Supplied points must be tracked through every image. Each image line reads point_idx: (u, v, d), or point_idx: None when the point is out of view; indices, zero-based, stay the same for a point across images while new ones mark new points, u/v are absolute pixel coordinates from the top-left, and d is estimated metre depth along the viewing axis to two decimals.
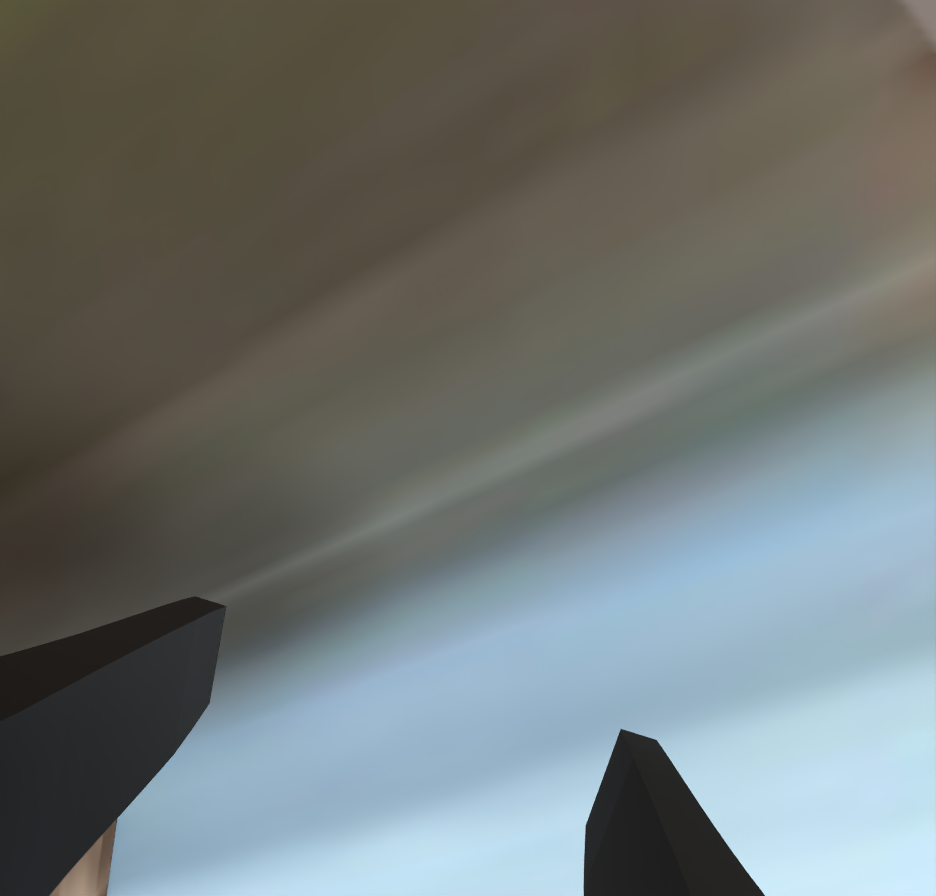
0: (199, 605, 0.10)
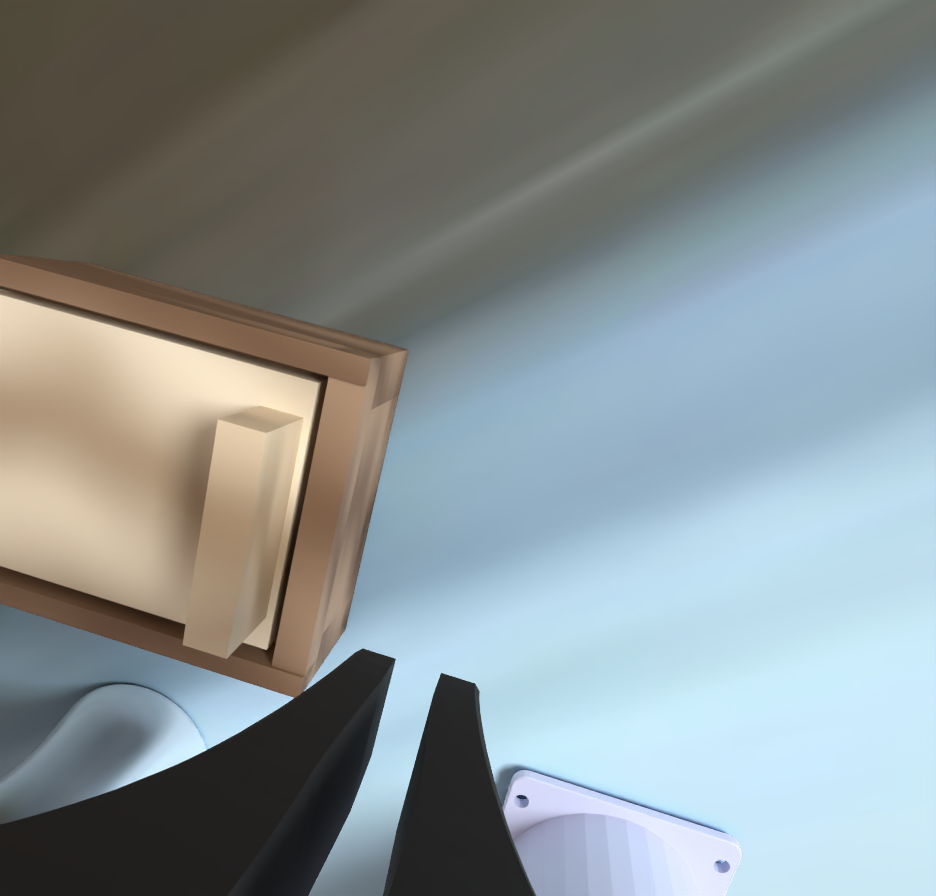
0: (375, 660, 0.10)
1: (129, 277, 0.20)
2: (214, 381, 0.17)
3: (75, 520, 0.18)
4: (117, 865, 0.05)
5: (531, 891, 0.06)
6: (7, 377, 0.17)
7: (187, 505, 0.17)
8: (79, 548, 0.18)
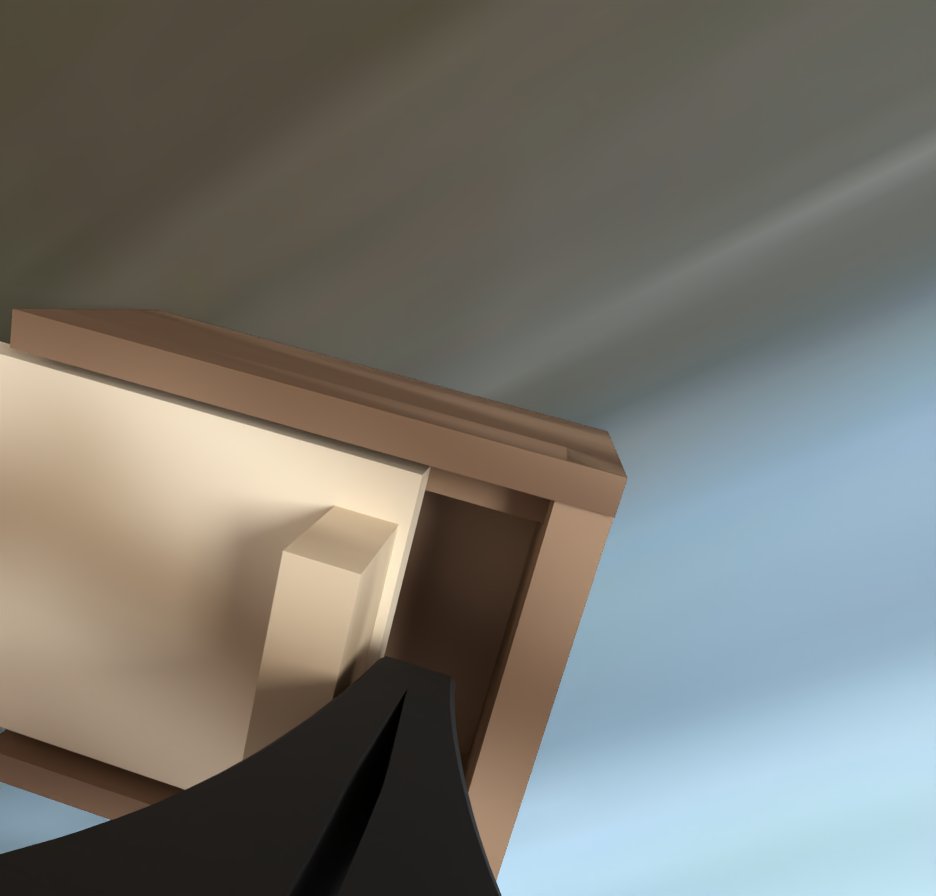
0: (398, 667, 0.10)
1: (220, 332, 0.14)
2: (265, 469, 0.11)
3: (62, 656, 0.13)
4: (167, 881, 0.05)
5: (491, 877, 0.06)
6: None
7: (222, 641, 0.12)
8: (68, 693, 0.13)
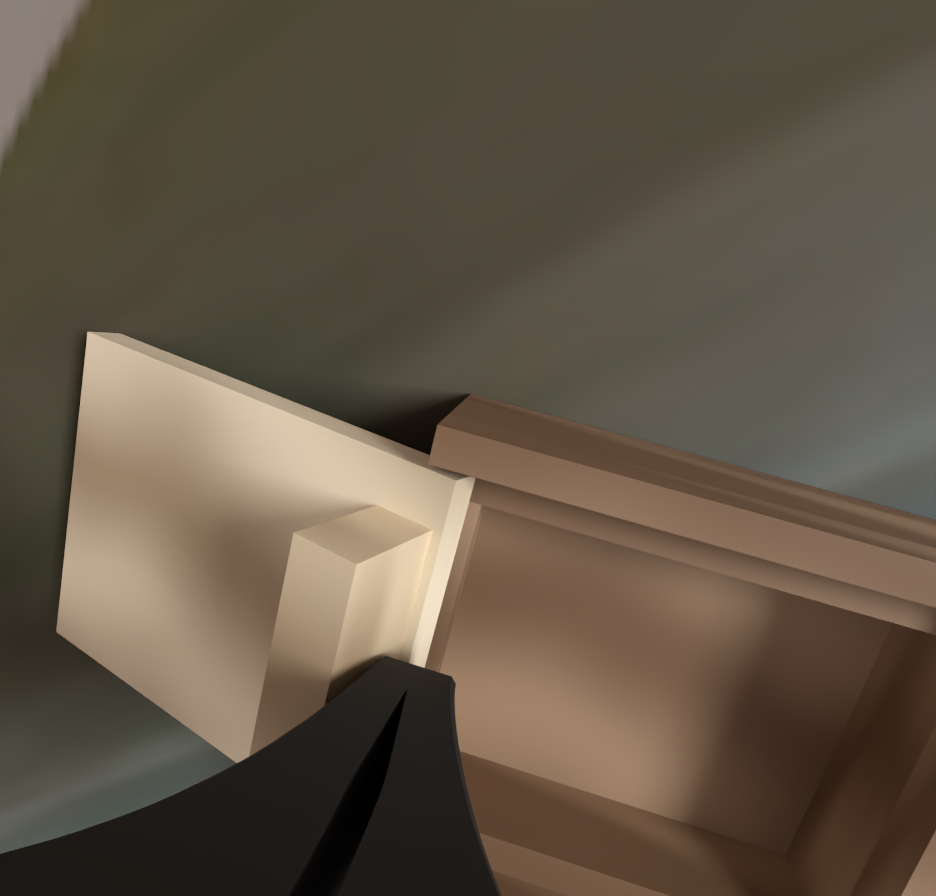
0: (398, 667, 0.10)
1: (557, 423, 0.13)
2: (321, 464, 0.12)
3: (161, 620, 0.14)
4: (166, 882, 0.05)
5: (490, 878, 0.06)
6: (111, 438, 0.15)
7: None
8: (163, 655, 0.15)
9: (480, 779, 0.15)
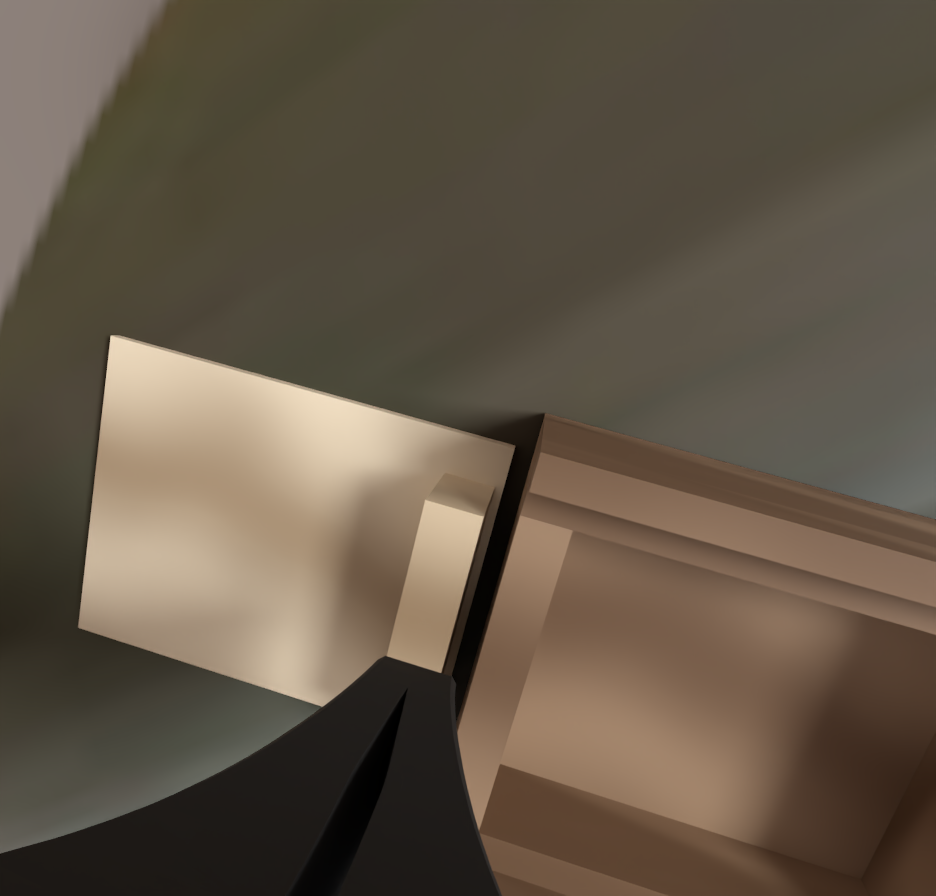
0: (398, 667, 0.10)
1: (638, 444, 0.13)
2: (390, 444, 0.15)
3: (216, 595, 0.16)
4: (164, 883, 0.05)
5: (491, 878, 0.06)
6: (146, 436, 0.15)
7: (349, 582, 0.15)
8: (220, 626, 0.16)
9: (552, 803, 0.14)
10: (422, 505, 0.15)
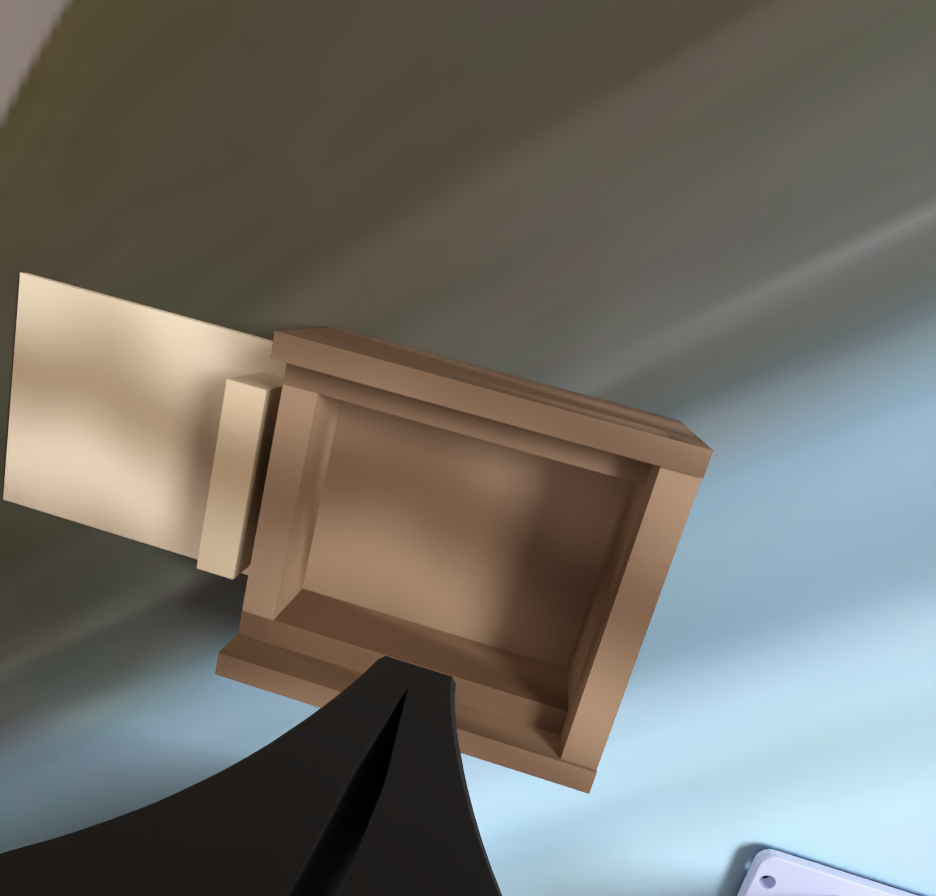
0: (398, 667, 0.10)
1: (387, 344, 0.19)
2: (223, 351, 0.20)
3: (104, 471, 0.21)
4: (166, 882, 0.05)
5: (491, 878, 0.06)
6: (48, 349, 0.21)
7: (199, 457, 0.21)
8: (108, 494, 0.22)
9: (341, 612, 0.20)
10: None
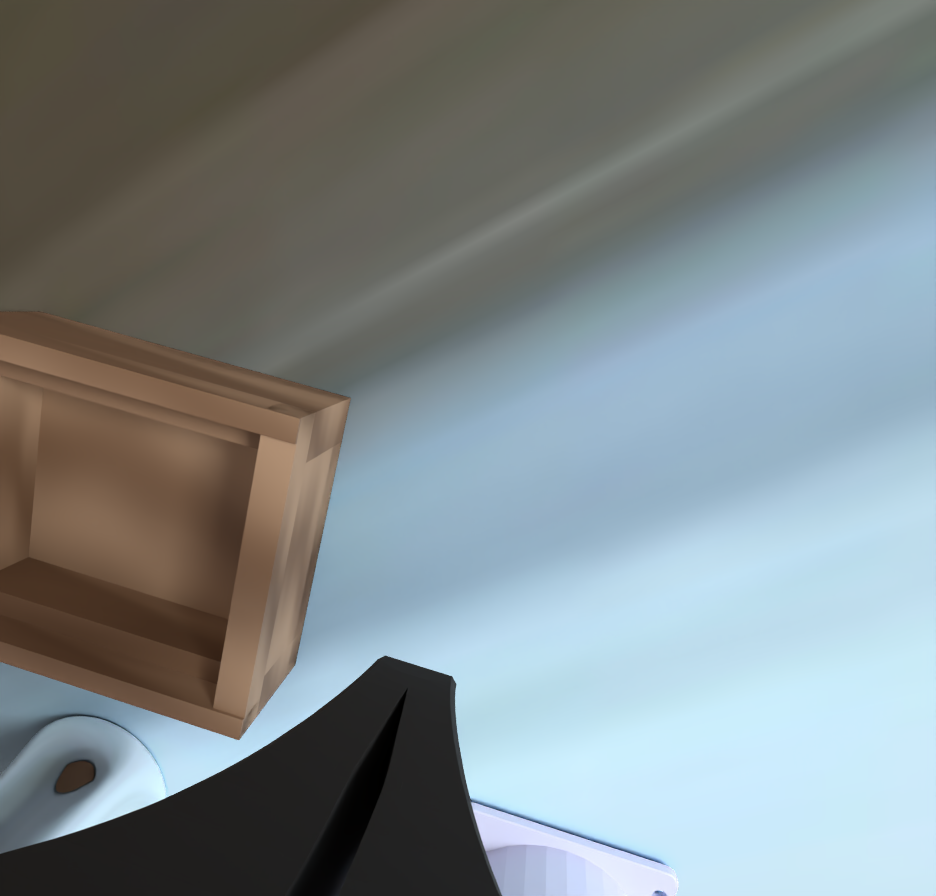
0: (398, 667, 0.10)
1: (79, 327, 0.20)
2: None
3: None
4: (164, 883, 0.05)
5: (491, 878, 0.06)
6: None
7: None
8: None
9: (53, 578, 0.21)
10: None
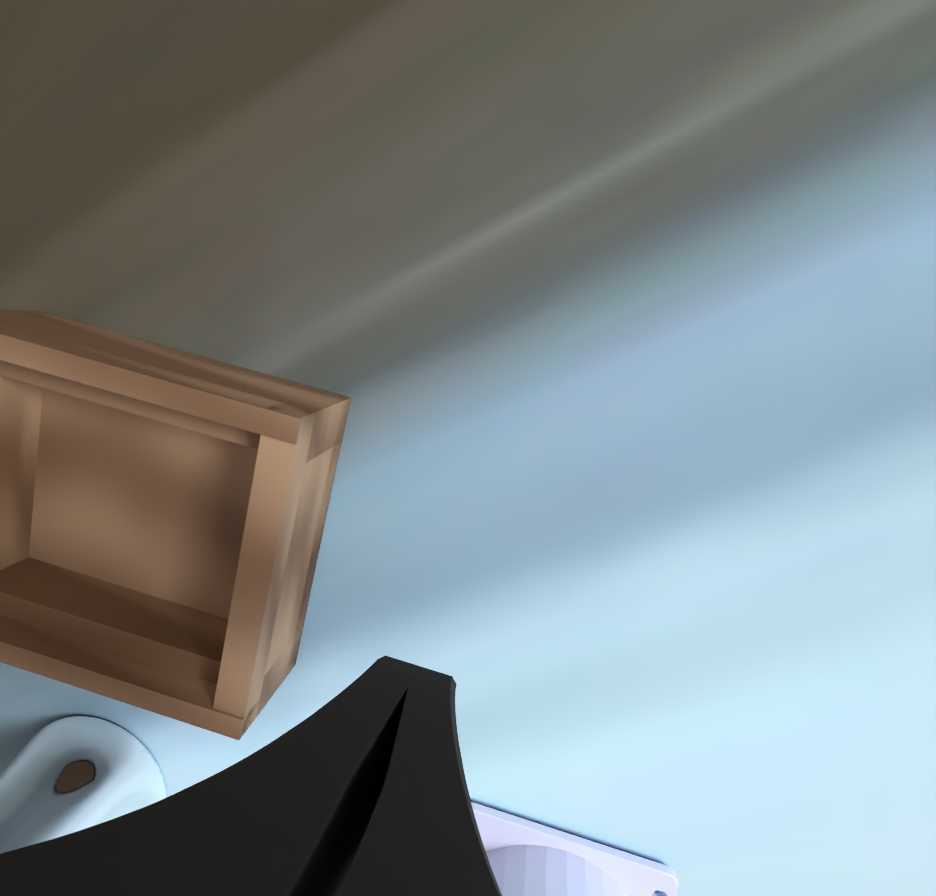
0: (398, 667, 0.10)
1: (79, 327, 0.20)
2: None
3: None
4: (164, 883, 0.05)
5: (491, 878, 0.06)
6: None
7: None
8: None
9: (53, 578, 0.21)
10: None
